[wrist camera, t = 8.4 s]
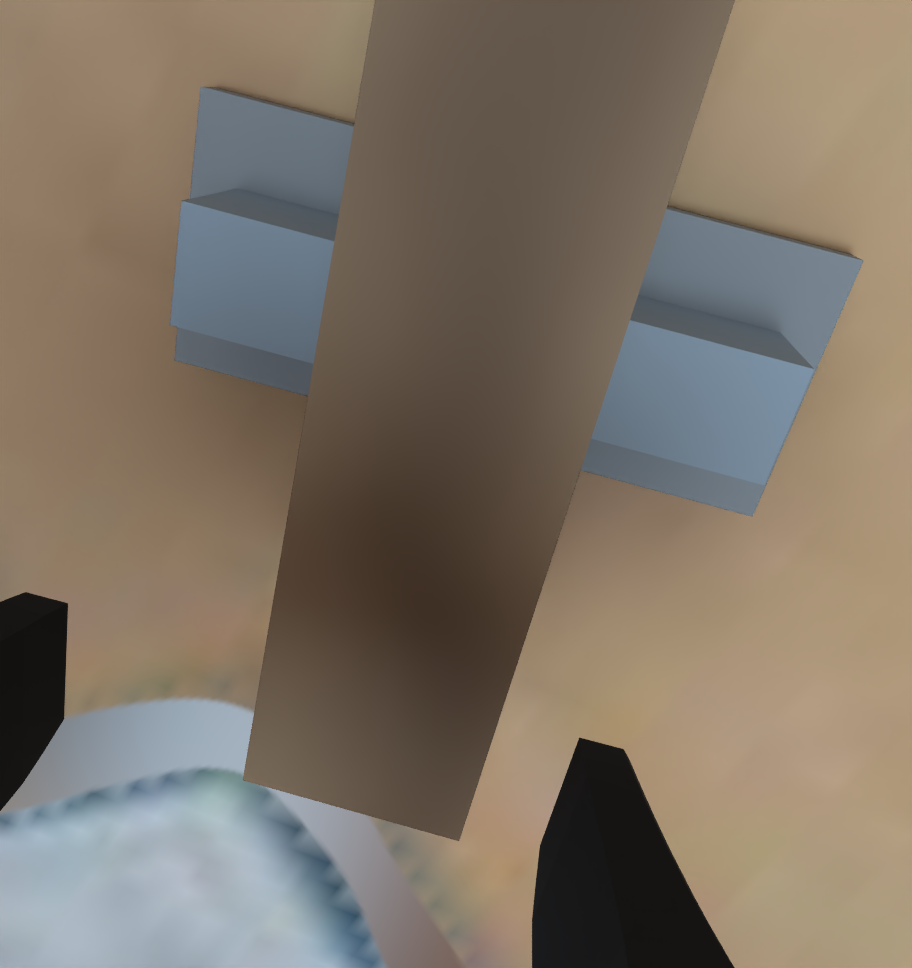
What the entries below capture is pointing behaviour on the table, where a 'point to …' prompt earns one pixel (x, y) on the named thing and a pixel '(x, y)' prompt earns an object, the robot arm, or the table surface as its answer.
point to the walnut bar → (462, 376)
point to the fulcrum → (647, 342)
